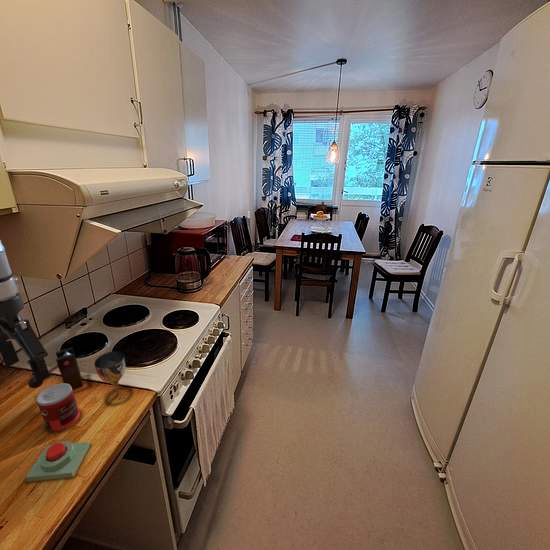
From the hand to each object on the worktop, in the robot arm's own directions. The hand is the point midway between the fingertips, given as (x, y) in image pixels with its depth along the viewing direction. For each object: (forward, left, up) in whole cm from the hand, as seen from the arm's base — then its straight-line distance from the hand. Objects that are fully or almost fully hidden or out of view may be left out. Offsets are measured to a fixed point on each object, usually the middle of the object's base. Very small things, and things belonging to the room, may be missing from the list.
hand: (27, 371), depth 73 cm
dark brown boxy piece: (-1, +15, -20) cm, 25 cm away
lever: (-4, +13, -12) cm, 18 cm away
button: (+9, -12, -16) cm, 22 cm away
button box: (+9, -12, -20) cm, 25 cm away
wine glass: (+15, +9, -20) cm, 27 cm away
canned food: (+3, +1, -20) cm, 20 cm away
